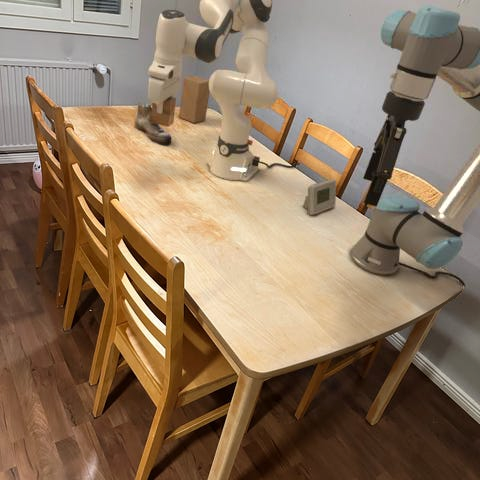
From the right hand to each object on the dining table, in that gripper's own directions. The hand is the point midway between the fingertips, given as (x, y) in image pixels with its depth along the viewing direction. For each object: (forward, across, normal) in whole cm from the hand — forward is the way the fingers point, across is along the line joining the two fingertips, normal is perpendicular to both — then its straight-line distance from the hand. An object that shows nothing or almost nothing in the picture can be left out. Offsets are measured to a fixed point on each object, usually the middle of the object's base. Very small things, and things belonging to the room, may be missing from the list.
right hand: (369, 191), depth 98 cm
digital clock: (+36, -59, -6) cm, 70 cm away
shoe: (+36, -86, -84) cm, 126 cm away
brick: (+14, -45, -66) cm, 81 cm away
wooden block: (+36, -121, -78) cm, 148 cm away
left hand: (+10, -45, -66) cm, 80 cm away
